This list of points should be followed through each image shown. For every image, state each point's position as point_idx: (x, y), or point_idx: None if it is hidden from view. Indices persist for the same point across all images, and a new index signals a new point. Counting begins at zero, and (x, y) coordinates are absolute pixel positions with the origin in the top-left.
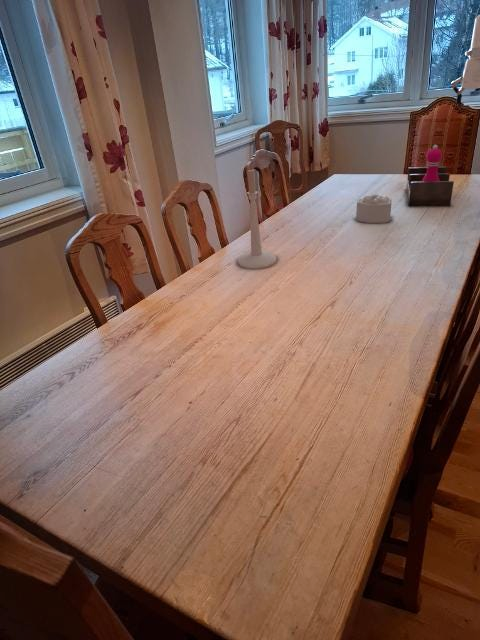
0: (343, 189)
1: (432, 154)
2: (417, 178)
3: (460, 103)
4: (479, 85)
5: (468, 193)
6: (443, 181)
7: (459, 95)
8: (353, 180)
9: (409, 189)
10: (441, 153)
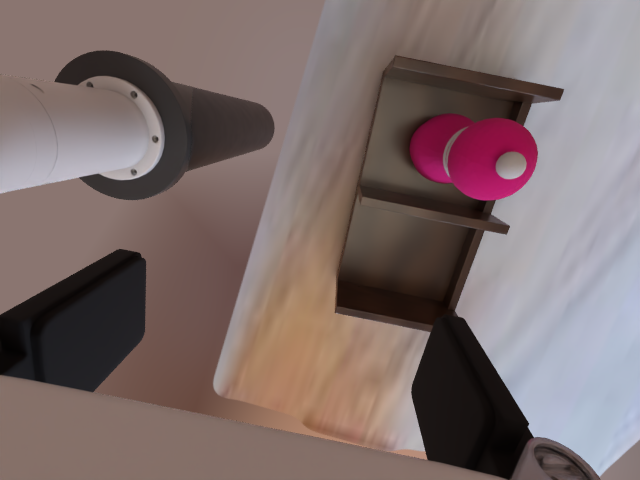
0: (631, 347)
1: (522, 127)
2: (474, 216)
3: (446, 328)
4: (123, 447)
5: (280, 211)
6: (433, 69)
7: (510, 439)
8: (556, 432)
9: None
10: (468, 135)
